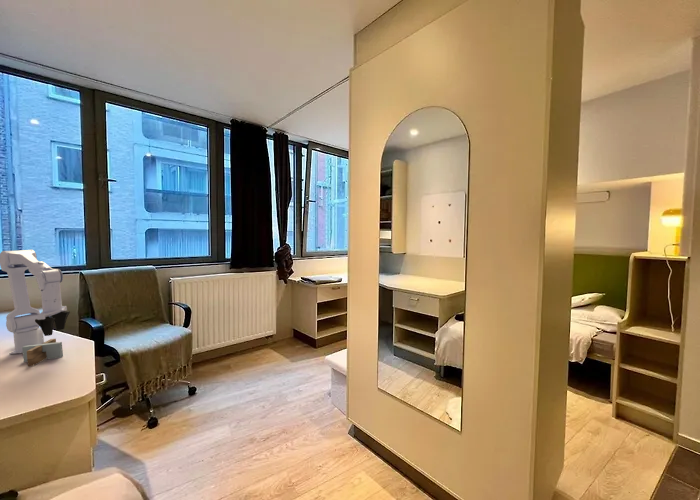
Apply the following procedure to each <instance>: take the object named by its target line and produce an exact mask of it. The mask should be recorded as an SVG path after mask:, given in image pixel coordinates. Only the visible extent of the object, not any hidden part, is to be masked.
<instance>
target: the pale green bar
mask: <svg viewBox="0 0 700 500" xmlns="http://www.w3.org/2000/svg"><path fill="white" fill-rule="evenodd" d="M36 346H42V352H46V354H47V358H46V360H52V359H53V360H54V359H59V358H63V357H64V352H63V351H64V350H63V342H62V341H58V342H57V341H56V343H46V344H37V345H28V346H24V347H22V349H23V353H22V358H23V359H22V360H23V363H26V362H27V363H28V360H27V351H28V350H30V349H32V348H34V347H36Z"/></svg>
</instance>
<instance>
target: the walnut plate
mask: <svg viewBox="0 0 700 500" xmlns="http://www.w3.org/2000/svg"><path fill="white" fill-rule="evenodd" d="M56 342H57V338H50V339H48V340H46V341H44V343H42V344H46V343H56ZM27 360H28V361H27V366H28V367H34V366H36V365H38V364H39V363H41V362H43V361H44V360H47V354H46V352H42V346H36V347H34V348H32V349H30V350H28V351H27Z"/></svg>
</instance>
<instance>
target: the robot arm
mask: <svg viewBox="0 0 700 500" xmlns="http://www.w3.org/2000/svg"><path fill="white" fill-rule="evenodd" d="M36 253H37V252H35V250H33V249H21V250H19V249H18V250H2V251H1V252H0V269H1V271H3V272H5V273H7V277H8V282H9V287H10V292H11V296H12V297H11V298H12V302H13V308H14V309H13V310H12V311H10V312H9V313H8V314H7V315H6V317H5V318H6V319H5V320H6V322H5V327H6V329H7V331H8V332H9V333H12V334H13V341H14V342H13V343H14V350H13V351H11V352H9V354H8V355H16V354H23V349H22V347H24V346H28V345H37V344H42V343H44V342H45V340H44V336H45V337H47V336H49V337H50V336H52V335H53V333H54V331H53V330H54V324H55V328H56V330H57V331H60V330H61V331H62V330H65V327H66V322H67V320H68V317H69V316H70V314H71V312H70V311H69V310H68V307H67V305H63V299H62V290H61V283H62V282H63V281H64V280H63V279H64V274H63V271H62V270H61V269H60V268H52V267H51V266H49V264H47V263H46V262H44V261H41V260H40V261H39V260H38V259H37V257H38V256H37V254H36ZM27 270H28V272H29V273H30V274H32V275H33V276H34V277H35V279H36V282H37V286H38V289H39V290H40V297H41V308H42V311H41V312H40V310H39V309H37V308H36V307H32V306H31V301H30V297H29V296H30V295H29V290H28V286H27V281H26V276H25V271H27Z"/></svg>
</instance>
